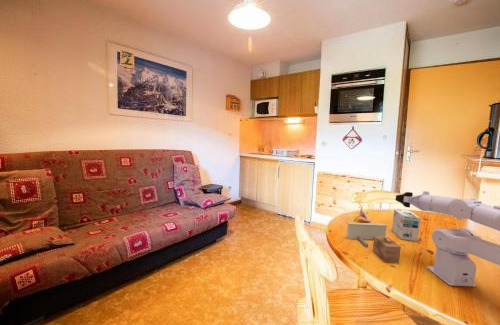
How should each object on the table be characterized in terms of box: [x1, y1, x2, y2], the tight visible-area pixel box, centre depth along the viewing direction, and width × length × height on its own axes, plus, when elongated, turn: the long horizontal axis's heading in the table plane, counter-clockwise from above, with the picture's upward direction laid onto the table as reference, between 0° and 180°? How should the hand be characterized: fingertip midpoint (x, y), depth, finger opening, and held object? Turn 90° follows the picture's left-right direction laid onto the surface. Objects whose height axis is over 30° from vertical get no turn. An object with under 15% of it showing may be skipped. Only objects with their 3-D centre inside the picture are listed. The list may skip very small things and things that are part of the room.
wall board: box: [346, 221, 388, 248], centre depth 94 cm, size 9×16×7 cm, turn 90°
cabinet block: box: [372, 236, 402, 264], centre depth 83 cm, size 8×5×7 cm, turn 0°
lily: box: [353, 202, 371, 223], centre depth 117 cm, size 12×12×10 cm
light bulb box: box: [391, 208, 421, 242], centre depth 102 cm, size 11×7×11 cm, turn 168°
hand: (405, 199), depth 90 cm, fingers open, 7 cm apart
